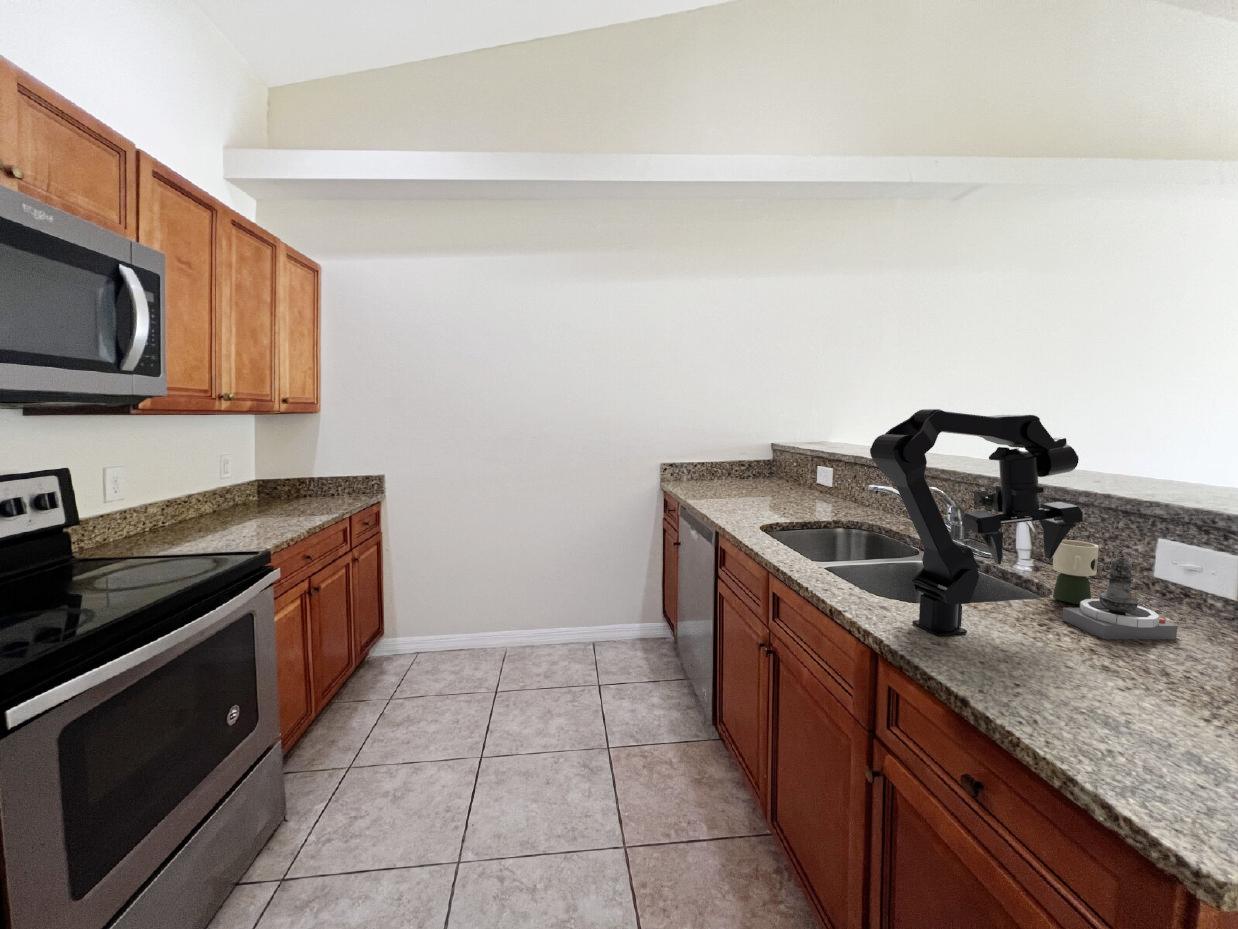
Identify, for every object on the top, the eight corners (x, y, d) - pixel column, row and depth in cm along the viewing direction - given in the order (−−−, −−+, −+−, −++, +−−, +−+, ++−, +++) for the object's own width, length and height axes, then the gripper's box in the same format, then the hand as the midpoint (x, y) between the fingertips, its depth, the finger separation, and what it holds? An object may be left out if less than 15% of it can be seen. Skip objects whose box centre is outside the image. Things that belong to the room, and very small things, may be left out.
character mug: (1097, 614, 108) (1102, 551, 107) (1052, 606, 112) (1057, 546, 111) (1090, 599, 117) (1094, 540, 116) (1048, 593, 121) (1052, 536, 120)
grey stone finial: (1088, 613, 102) (1094, 551, 101) (1106, 609, 104) (1112, 548, 103) (1127, 624, 96) (1133, 559, 95) (1145, 619, 98) (1151, 555, 97)
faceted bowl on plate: (1107, 641, 95) (1109, 619, 95) (1059, 618, 105) (1060, 598, 105) (1180, 641, 95) (1182, 619, 95) (1124, 618, 105) (1126, 599, 105)
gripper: (1040, 468, 108) (1043, 543, 110) (944, 480, 109) (949, 554, 111) (1084, 477, 97) (1087, 560, 99) (977, 490, 98) (982, 571, 100)
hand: (1023, 560), depth 102 cm, fingers open, 9 cm apart
